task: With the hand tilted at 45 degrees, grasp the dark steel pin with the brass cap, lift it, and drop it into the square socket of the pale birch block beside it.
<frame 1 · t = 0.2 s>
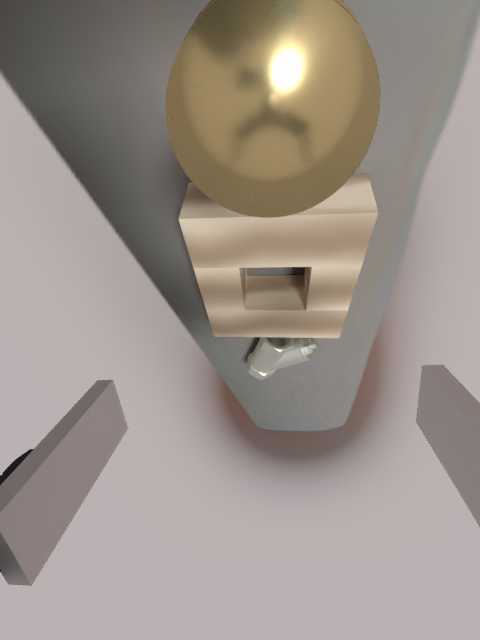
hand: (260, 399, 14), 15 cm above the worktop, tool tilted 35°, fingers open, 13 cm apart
socket block: (275, 254, 27), on the worktop
pipe fitting: (281, 339, 39), on the worktop
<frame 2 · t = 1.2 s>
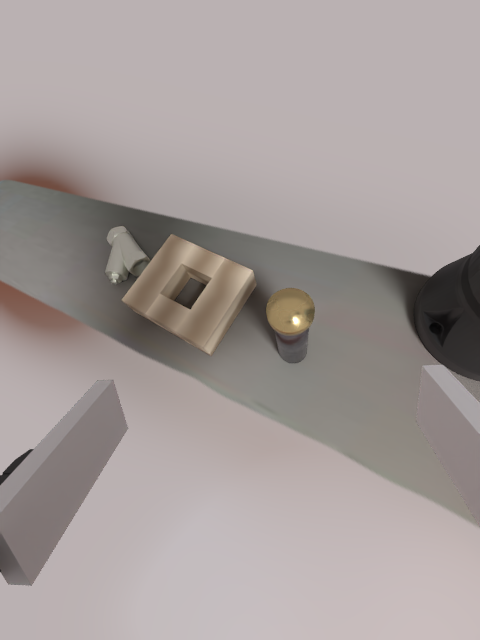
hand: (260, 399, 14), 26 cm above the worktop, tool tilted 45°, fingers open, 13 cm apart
steel pin: (292, 349, 41), on the worktop
socket block: (194, 298, 46), on the worktop
pipe fitting: (127, 264, 51), on the worktop
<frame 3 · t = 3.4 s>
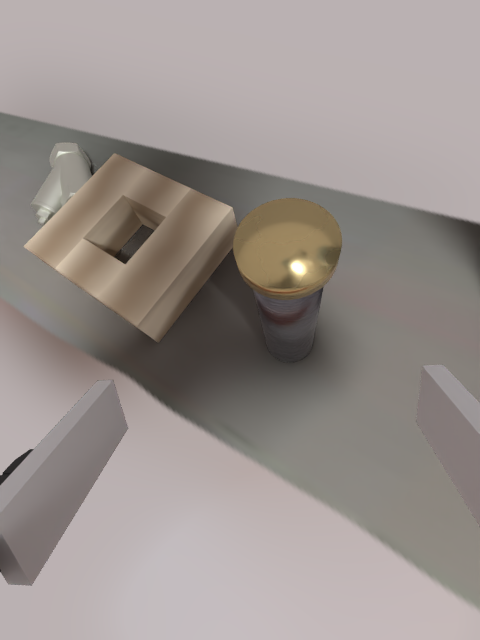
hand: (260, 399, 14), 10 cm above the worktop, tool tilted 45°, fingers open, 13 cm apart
steel pin: (289, 340, 25), on the worktop
socket block: (144, 254, 30), on the worktop
pipe fitting: (75, 202, 35), on the worktop
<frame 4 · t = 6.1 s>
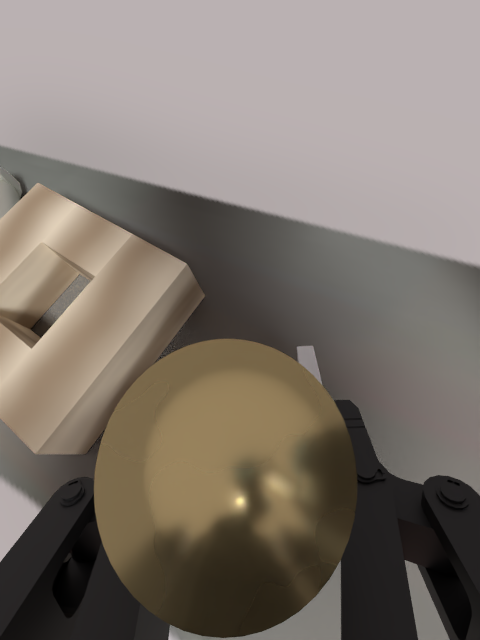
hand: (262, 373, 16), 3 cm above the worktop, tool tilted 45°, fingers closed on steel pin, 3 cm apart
steel pin: (270, 457, 17), on the worktop, touching gripper
socket block: (78, 317, 22), on the worktop
pipe fitting: (2, 240, 27), on the worktop
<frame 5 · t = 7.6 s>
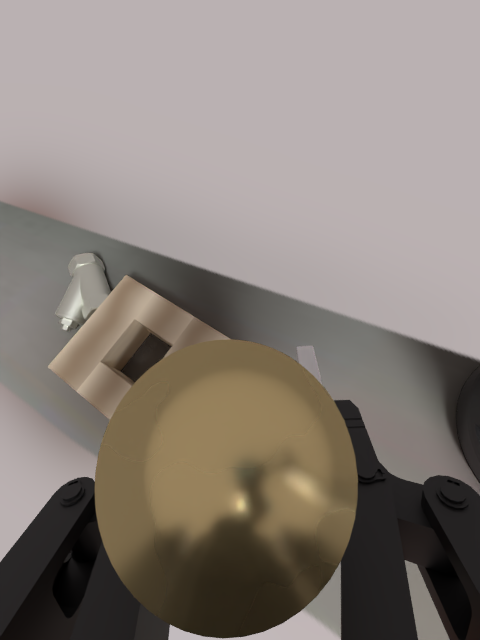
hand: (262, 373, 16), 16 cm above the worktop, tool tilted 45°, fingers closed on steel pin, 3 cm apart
steel pin: (270, 457, 17), point 13 cm above the worktop, touching gripper
socket block: (153, 363, 34), on the worktop
pipe fitting: (91, 302, 39), on the worktop
when the fingers open (6 cm above the worktop, at t = 10.3 s): steel pin drops 3 cm, resting in socket block.
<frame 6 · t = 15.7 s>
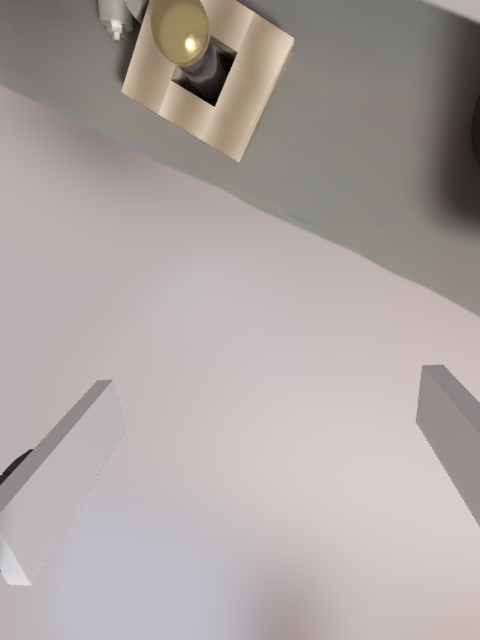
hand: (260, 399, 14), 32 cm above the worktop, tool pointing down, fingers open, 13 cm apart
steel pin: (210, 80, 36), resting in socket block
socket block: (210, 79, 36), on the worktop
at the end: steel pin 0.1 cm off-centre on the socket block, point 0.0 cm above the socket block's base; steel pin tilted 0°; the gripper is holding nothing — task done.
